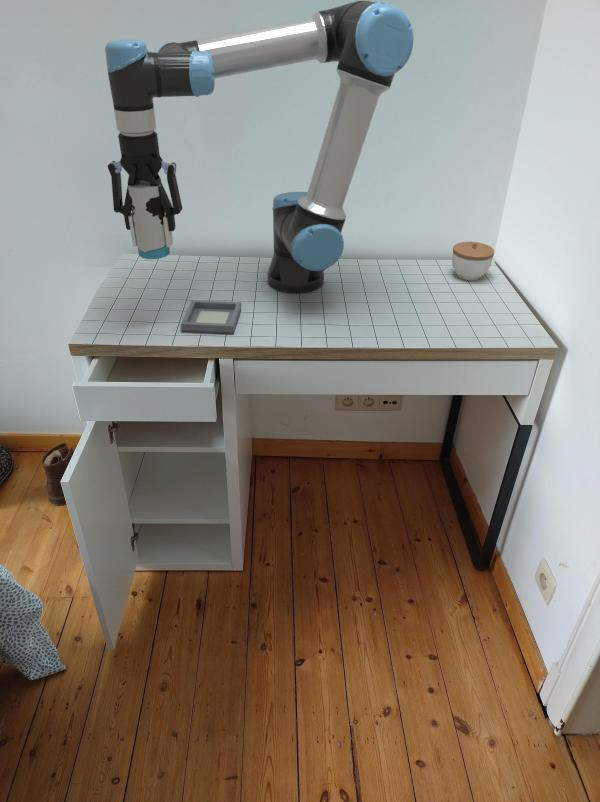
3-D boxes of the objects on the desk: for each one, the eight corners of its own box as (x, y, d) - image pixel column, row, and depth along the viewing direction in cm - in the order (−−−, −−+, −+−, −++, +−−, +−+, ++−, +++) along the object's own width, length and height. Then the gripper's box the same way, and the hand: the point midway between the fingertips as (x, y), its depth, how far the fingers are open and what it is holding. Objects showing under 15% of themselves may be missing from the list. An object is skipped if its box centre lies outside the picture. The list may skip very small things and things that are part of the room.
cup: (176, 251, 134) (168, 182, 125) (153, 261, 130) (143, 190, 121) (154, 245, 137) (145, 177, 128) (132, 254, 133) (120, 184, 124)
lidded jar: (477, 287, 160) (484, 254, 155) (441, 276, 166) (446, 243, 160) (495, 275, 167) (502, 242, 161) (460, 264, 172) (466, 232, 167)
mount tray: (241, 310, 148) (241, 302, 147) (233, 334, 138) (233, 326, 137) (192, 308, 149) (192, 300, 147) (181, 332, 139) (180, 323, 138)
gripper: (190, 128, 121) (201, 239, 135) (94, 126, 122) (114, 236, 136) (182, 137, 115) (194, 252, 129) (81, 135, 116) (103, 249, 130)
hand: (153, 244), depth 132 cm, fingers closed on cup, 7 cm apart
